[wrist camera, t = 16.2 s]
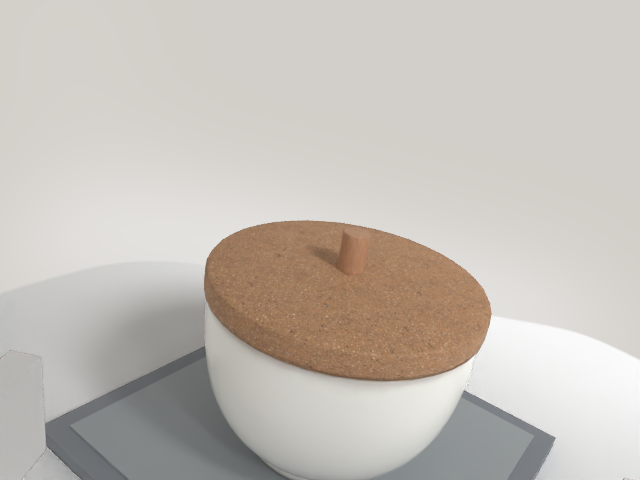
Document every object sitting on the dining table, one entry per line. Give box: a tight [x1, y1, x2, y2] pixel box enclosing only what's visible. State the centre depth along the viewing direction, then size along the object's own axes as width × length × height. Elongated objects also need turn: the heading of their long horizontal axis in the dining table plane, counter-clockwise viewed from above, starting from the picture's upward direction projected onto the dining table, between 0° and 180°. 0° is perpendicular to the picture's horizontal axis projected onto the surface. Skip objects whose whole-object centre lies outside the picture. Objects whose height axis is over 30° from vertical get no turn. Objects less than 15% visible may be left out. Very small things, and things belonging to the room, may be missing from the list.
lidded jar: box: [204, 221, 491, 480], centre depth 23 cm, size 11×11×9 cm
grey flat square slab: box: [45, 346, 555, 480], centre depth 25 cm, size 16×16×1 cm
